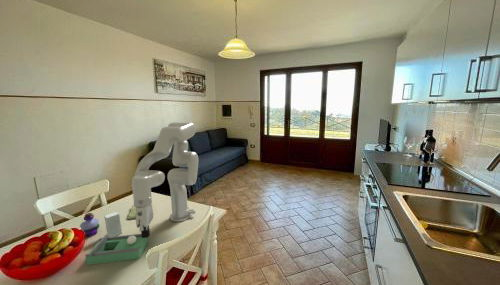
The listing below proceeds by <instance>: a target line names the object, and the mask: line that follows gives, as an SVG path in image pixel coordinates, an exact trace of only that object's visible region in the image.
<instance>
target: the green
mask: <svg viewBox="0 0 500 285" xmlns="http://www.w3.org/2000/svg"><path fill="white" fill-rule="evenodd" d="M132 235H133V236H135V237H136V242H135V243H134V244H132V245H130V244H128V243H127V239H128V237H129V236H132ZM148 241H149V240H148V238H142V234H141V233H137V234H128V235H127V234H125V235H117V236H114V237H108V235H107V234H105V235H104V236H102V237H99V238H98V241H97V243H96V244H95V246H94V247H93V248H92V249H91V250H90V251H89V252H88V253H85V254H84V256H85V257H84V258H85V261H86V265H87V266H90V265H97V264H103V263H104V264H105V263H115V262H123V261H129V260H130V261H131V260H138V259H140V258H141V257H142V254H143V253H144V251H145V249H146V246H147V244H148V243H149V242H148Z"/></svg>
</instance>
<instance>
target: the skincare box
mask: <svg viewBox="0 0 500 285" xmlns="http://www.w3.org/2000/svg"><path fill="white" fill-rule="evenodd" d="M104 221H105V229H106V235H108V237H115V236H120V235H121V234H123V232H122V230H123V229H122V223H121V216H120V213H119V212H117V211H114V212H111V213H108V214H106V215H104Z"/></svg>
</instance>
